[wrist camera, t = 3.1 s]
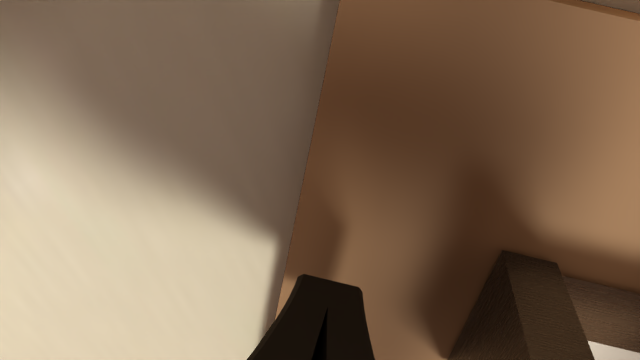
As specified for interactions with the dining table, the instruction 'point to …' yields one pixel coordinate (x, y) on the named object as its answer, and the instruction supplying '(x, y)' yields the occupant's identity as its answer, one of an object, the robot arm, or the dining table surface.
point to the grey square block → (548, 316)
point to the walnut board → (469, 157)
